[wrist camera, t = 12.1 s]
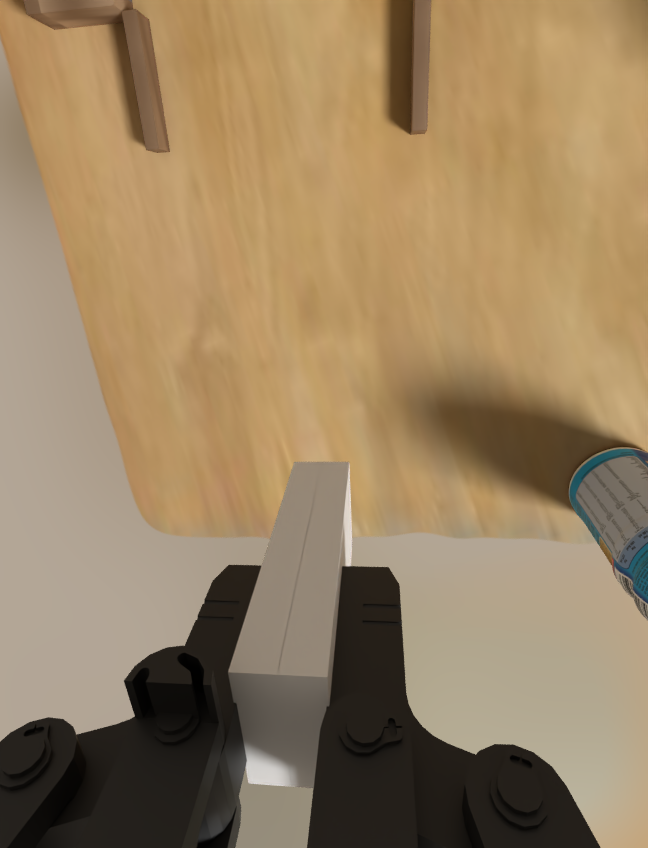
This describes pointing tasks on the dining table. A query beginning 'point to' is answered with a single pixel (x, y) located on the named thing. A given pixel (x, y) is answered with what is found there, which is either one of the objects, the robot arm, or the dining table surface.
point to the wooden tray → (112, 3)
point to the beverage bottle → (617, 513)
